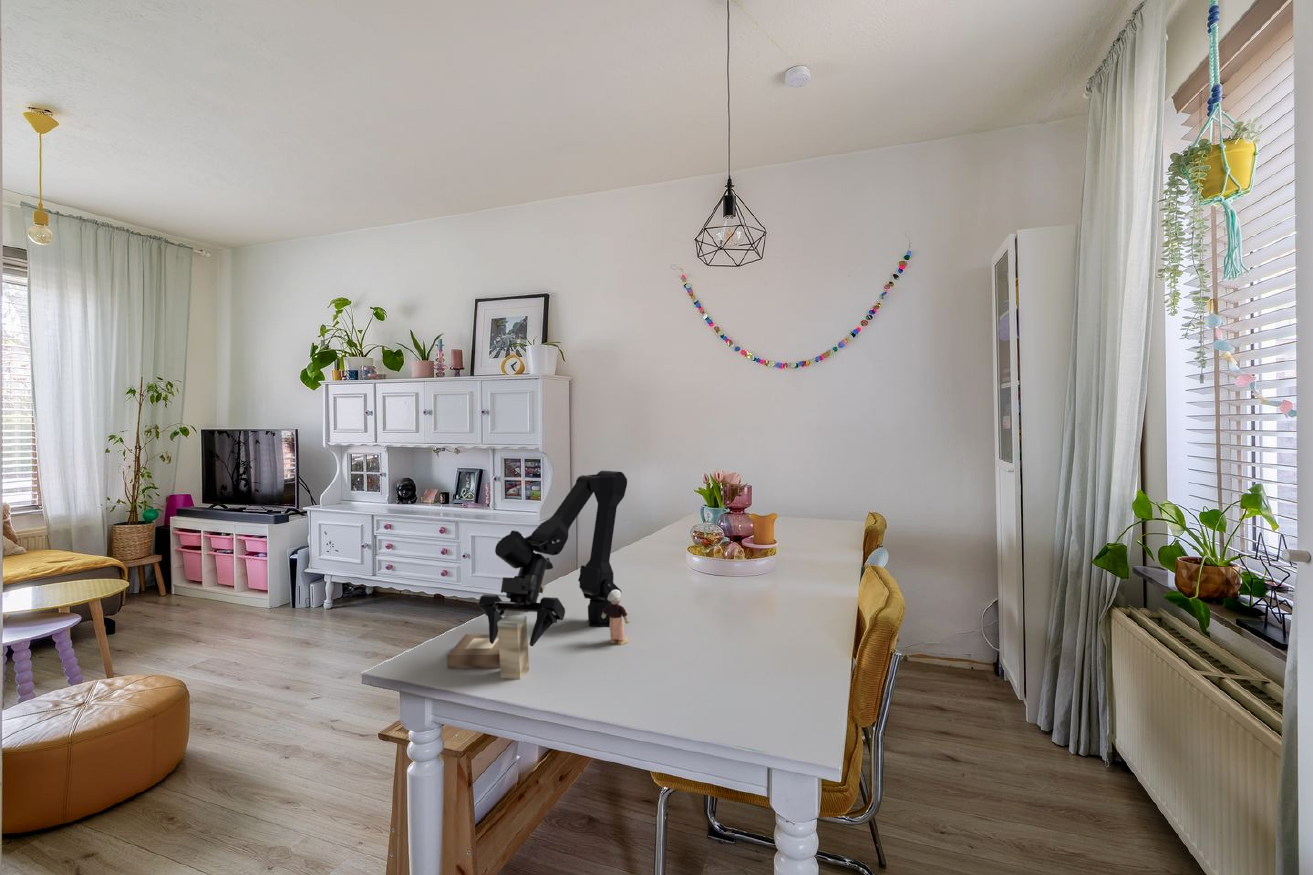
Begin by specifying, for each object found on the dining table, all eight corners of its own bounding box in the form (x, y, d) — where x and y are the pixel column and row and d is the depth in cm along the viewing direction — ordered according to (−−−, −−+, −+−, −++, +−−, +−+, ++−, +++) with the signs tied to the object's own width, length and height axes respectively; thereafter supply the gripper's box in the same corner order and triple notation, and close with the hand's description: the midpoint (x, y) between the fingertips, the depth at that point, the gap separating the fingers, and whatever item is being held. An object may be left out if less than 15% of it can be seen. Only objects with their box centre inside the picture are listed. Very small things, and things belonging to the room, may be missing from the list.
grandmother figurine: (634, 639, 158) (632, 588, 157) (628, 646, 155) (626, 593, 154) (605, 637, 161) (602, 586, 160) (598, 643, 157) (596, 591, 156)
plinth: (515, 645, 157) (515, 632, 157) (501, 667, 145) (500, 653, 145) (466, 646, 158) (465, 633, 158) (447, 668, 146) (446, 654, 146)
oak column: (510, 668, 145) (507, 614, 144) (529, 669, 144) (526, 615, 143) (500, 677, 140) (497, 622, 139) (520, 679, 139) (517, 623, 138)
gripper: (479, 559, 146) (455, 625, 137) (557, 561, 142) (539, 630, 132) (497, 583, 155) (476, 647, 145) (572, 586, 150) (556, 652, 140)
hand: (510, 644), depth 140 cm, fingers open, 9 cm apart
